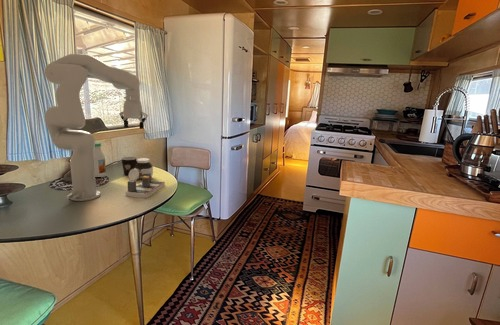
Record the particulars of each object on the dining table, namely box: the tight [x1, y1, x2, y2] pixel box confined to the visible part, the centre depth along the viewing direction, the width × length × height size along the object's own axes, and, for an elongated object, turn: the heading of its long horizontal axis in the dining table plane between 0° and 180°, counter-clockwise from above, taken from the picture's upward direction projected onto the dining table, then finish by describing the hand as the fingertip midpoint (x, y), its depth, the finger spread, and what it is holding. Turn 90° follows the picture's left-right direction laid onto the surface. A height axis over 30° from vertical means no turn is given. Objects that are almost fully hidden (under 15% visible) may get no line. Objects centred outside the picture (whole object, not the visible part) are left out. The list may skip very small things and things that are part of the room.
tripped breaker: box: [141, 176, 150, 187], centre depth 141 cm, size 3×3×5 cm
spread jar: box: [128, 157, 154, 181], centre depth 159 cm, size 12×11×12 cm
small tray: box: [125, 172, 165, 199], centre depth 141 cm, size 20×11×7 cm, turn 172°
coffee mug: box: [121, 156, 138, 176], centre depth 167 cm, size 12×9×10 cm
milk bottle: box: [94, 142, 107, 178], centre depth 158 cm, size 8×8×20 cm
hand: (133, 128), depth 162 cm, fingers open, 9 cm apart
